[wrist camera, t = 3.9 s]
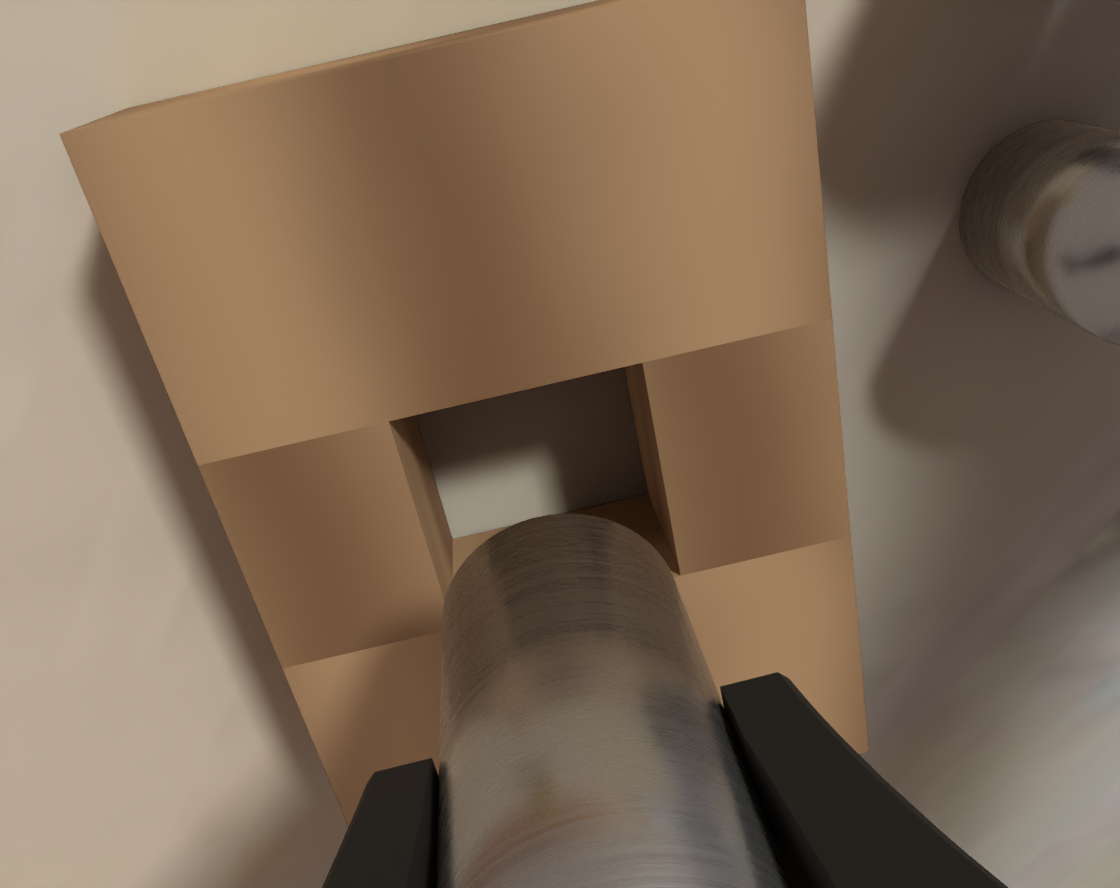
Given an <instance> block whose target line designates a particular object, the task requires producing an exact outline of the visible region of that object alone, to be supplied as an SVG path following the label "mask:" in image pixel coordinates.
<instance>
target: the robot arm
mask: <svg viewBox="0 0 1120 888" xmlns="http://www.w3.org/2000/svg"><path fill="white" fill-rule="evenodd" d="M720 690H721V695H722V700H723V705H724V709H725V712H726V715H727V717H728V720H729V722H730V725H731V727H732V730H733V733H734V735H735V738H736V740H737V743H738V745H739V748H740V751H741V753H742V756H743V758H744V761H745V763H746V766H747V769H748V771H749V774H750V776H751V779H752V781H753V784H754V786H755V788H756V791H757V794H758V796H759V799H760V801H761V804H762V806H763V809H764V812H765V814H766V817H767V819H768V822H769V824H770V827H771V830H772V832H773V835H774V837H775V840H776V843H777V845H778V848H779V850H780V853H781V855H782V858H783V861H784V863H785V866H786V868H787V871H788V873H789V876H790V879H791V881H792V884H793V886H794V888H1008V887H1007V886H1006V885H1004V884H1003V883H1002V882H1001V881H1000V880H998V879H997V878H996V877H995V876H994V875H992V874H991V873H990V872H989V871H987V870H986V869H985V868H984V867H983V866H981V865H980V864H979V863H978V862H977V861H975V860H974V859H973V858H972V857H970V856H969V855H968V854H967V853H966V852H964V851H963V850H962V849H961V848H960V847H959V846H958V845H956V844H955V843H954V842H953V841H952V840H951V839H949V838H948V837H947V836H946V835H945V834H944V833H943V832H941V831H940V830H939V829H938V828H937V827H936V826H935V825H933V824H932V823H931V822H930V821H929V820H928V819H927V818H926V817H925V816H924V815H923V814H921V813H920V812H919V811H918V810H917V809H916V808H915V807H914V806H913V805H912V804H911V803H909V802H908V801H907V800H906V799H905V798H904V797H903V796H902V795H901V794H900V793H899V792H897V791H896V790H895V789H894V788H893V787H892V786H891V785H890V784H889V783H888V782H887V781H885V780H884V779H883V778H882V777H881V776H880V775H879V774H878V773H877V772H876V771H875V770H874V769H873V768H872V767H871V766H870V765H869V764H868V763H867V762H866V761H865V760H864V759H863V758H862V757H861V756H860V755H859V754H858V753H857V752H856V751H855V750H854V749H853V748H852V747H851V746H850V745H849V744H848V743H847V742H846V741H845V740H844V739H843V738H842V737H841V736H840V735H839V734H838V733H837V732H836V731H835V730H834V728H833V727H832V726H831V725H830V724H829V723H828V722H827V721H826V720H825V719H824V718H823V717H822V716H821V715H820V713H819V712H818V711H817V710H816V709H815V708H814V707H813V706H812V705H811V703H810V702H809V701H808V700H807V699H806V698H805V697H804V695H803V694H802V693H801V692H800V691H799V690H798V688H797V687H796V686H795V685H794V684H793V682H792V681H791V680H790V679H789V678H787V677H786V676H784V675H782V674H780V673H779V672H776V673H772V674H768V675H764V676H760V677H756V678H752V679H748V680H744V681H740V682H736V683H732V684H728V685H724V686H720ZM438 790H439V776H438V773H437V770H436V768H435V765H434V762H433V760H432V758H429V759H425V760H421V761H417V762H413V763H409V764H405V765H401V766H397V767H393V768H389V769H385V770H381V771H377V772H374V773H373V775H372V776H371V778H370V779H369V781H368V782H367V784H366V786H365V789H364V791H363V794H362V796H361V799H360V801H359V803H358V806H357V808H356V811H355V813H354V815H353V818H352V820H351V823H350V825H349V827H348V830H347V832H346V834H345V837H344V839H343V842H342V844H341V846H340V848H339V851H338V853H337V855H336V858H335V860H334V862H333V864H332V867H331V869H330V871H329V873H328V876H327V878H326V880H325V882H324V884H323V887H322V888H436V884H437V837H438Z"/></svg>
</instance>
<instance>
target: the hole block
mask: <svg viewBox="0 0 1120 888" xmlns="http://www.w3.org/2000/svg"><path fill="white" fill-rule="evenodd" d="M60 137H61V139H62V141H63V144H64V146H65V149H66V151H67V153H68V156H69V158H70V161H71V163H72V165H73V168H74V170H75V173H76V175H77V177H78V180H79V182H80V184H81V187H82V189H83V192H84V194H85V196H86V199H87V201H88V204H89V206H90V208H91V211H92V213H93V216H94V218H95V220H96V223H97V225H98V228H99V230H100V232H101V235H102V237H103V240H104V242H105V244H106V247H107V249H108V252H109V254H110V256H111V259H112V261H113V264H114V266H115V268H116V271H117V273H118V276H119V278H120V280H121V283H122V285H123V288H124V290H125V292H126V295H127V297H128V300H129V302H130V304H131V307H132V309H133V312H134V314H135V316H136V319H137V321H138V324H139V326H140V328H141V331H142V333H143V336H144V338H145V340H146V343H147V345H148V348H149V350H150V352H151V355H152V357H153V360H154V362H155V364H156V367H157V369H158V372H159V374H160V376H161V379H162V381H163V384H164V386H165V388H166V391H167V393H168V396H169V398H170V400H171V403H172V405H173V408H174V410H175V412H176V415H177V417H178V420H179V422H180V424H181V427H182V429H183V432H184V434H185V436H186V439H187V441H188V444H189V446H190V448H191V451H192V453H193V456H194V458H195V460H196V463H197V465H198V468H199V470H200V472H201V475H202V477H203V480H204V482H205V484H206V487H207V489H208V491H209V494H210V496H211V499H212V501H213V503H214V506H215V508H216V511H217V513H218V515H219V518H220V520H221V523H222V525H223V527H224V530H225V532H226V535H227V537H228V539H229V542H230V544H231V547H232V549H233V551H234V554H235V556H236V559H237V561H238V563H239V566H240V568H241V571H242V573H243V575H244V578H245V580H246V583H247V585H248V587H249V590H250V592H251V595H252V597H253V599H254V602H255V604H256V607H257V609H258V611H259V614H260V616H261V619H262V621H263V623H264V626H265V628H266V631H267V633H268V635H269V638H270V640H271V643H272V645H273V647H274V650H275V652H276V655H277V657H278V659H279V662H280V664H281V667H282V669H283V671H284V674H285V676H286V679H287V681H288V683H289V686H290V688H291V691H292V693H293V695H294V698H295V700H296V703H297V705H298V707H299V710H300V712H301V715H302V717H303V719H304V722H305V724H306V727H307V729H308V731H309V734H310V736H311V739H312V741H313V743H314V746H315V748H316V751H317V753H318V755H319V758H320V760H321V763H322V765H323V767H324V770H325V772H326V775H327V777H328V779H329V782H330V784H331V787H332V789H333V791H334V794H335V796H336V799H337V801H338V803H339V806H340V808H341V810H342V813H343V815H344V818H345V820H346V822H347V825H348V827H349V825H350V823H351V820H352V818H353V815H354V813H355V811H356V808H357V806H358V803H359V801H360V799H361V796H362V794H363V791H364V789H365V786H366V784H367V782H368V781H369V779H370V778H371V776H372V775H373V773H374V772H377V771H381V770H385V769H389V768H393V767H397V766H401V765H405V764H409V763H413V762H417V761H421V760H425V759H429V758H432V760H433V762H434V765H435V768H436V770H437V773H438V776H439V743H440V696H441V649H442V612H443V606H444V601H445V597H446V594H447V591H448V588H449V586H450V583H451V581H452V580H453V578H454V576H455V574H456V572H457V571H458V569H459V568H460V566H461V565H462V564H463V562H464V561H465V560H466V559H467V558H468V557H469V555H470V554H471V553H472V552H473V551H474V550H475V549H476V548H477V547H479V546H480V545H481V544H482V543H484V542H485V541H486V540H487V539H489V538H490V537H492V536H494V535H495V534H497V533H498V532H500V531H502V530H504V529H506V528H508V527H510V526H508V527H504V528H500V529H495V530H491V531H487V532H482V533H478V534H474V535H469V536H465V537H461V538H457V539H452V536H451V533H450V529H449V526H448V523H447V519H446V516H445V513H444V509H443V506H442V502H441V499H440V496H439V492H438V489H437V486H436V482H435V479H434V476H433V472H432V469H431V465H430V462H429V459H428V455H427V452H426V449H425V445H424V442H423V439H422V435H421V432H420V428H419V425H418V422H417V418H416V415H418V414H423V413H427V412H431V411H436V410H440V409H444V408H449V407H453V406H457V405H462V404H466V403H470V402H475V401H479V400H483V399H488V398H492V397H496V396H501V395H505V394H509V393H514V392H518V391H522V390H527V389H531V388H535V387H539V386H544V385H548V384H552V383H557V382H561V381H565V380H570V379H574V378H578V377H583V376H587V375H591V374H596V373H600V372H604V371H609V370H613V369H617V368H622V367H624V368H625V373H626V379H627V384H628V389H629V395H630V400H631V405H632V411H633V416H634V421H635V427H636V432H637V437H638V442H639V448H640V453H641V458H642V464H643V469H644V474H645V480H646V485H647V490H648V494H646V495H642V496H637V497H633V498H629V499H624V500H620V501H616V502H612V503H607V504H603V505H599V506H594V507H590V508H586V509H581V510H577V511H573V512H568V513H564V514H583V515H590V516H596V517H600V518H604V519H607V520H611V521H613V522H616V523H618V524H621V525H623V526H625V527H627V528H629V529H630V530H632V531H634V532H636V533H637V534H639V535H640V536H641V537H643V538H644V539H645V540H647V541H648V542H649V543H650V544H651V545H652V546H653V547H654V548H655V549H656V550H657V551H658V552H659V553H660V555H661V556H662V558H663V559H664V560H665V562H666V563H667V565H668V567H669V569H670V571H671V573H672V575H673V577H674V580H675V582H676V585H677V588H678V590H679V593H680V595H681V598H682V600H683V603H684V606H685V608H686V611H687V613H688V616H689V618H690V621H691V624H692V626H693V629H694V631H695V634H696V636H697V639H698V642H699V644H700V647H701V649H702V652H703V654H704V657H705V660H706V662H707V665H708V667H709V670H710V673H711V675H712V678H713V680H714V683H715V685H716V688H717V691H718V693H719V696H720V698H721V701H722V703H723V700H722V695H721V690H720V686H724V685H728V684H732V683H736V682H740V681H744V680H748V679H752V678H756V677H760V676H764V675H768V674H772V673H776V672H779V673H780V674H782V675H784V676H786V677H787V678H789V679H790V680H791V681H792V682H793V684H794V685H795V686H796V687H797V688H798V690H799V691H800V692H801V693H802V694H803V695H804V697H805V698H806V699H807V700H808V701H809V702H810V703H811V705H812V706H813V707H814V708H815V709H816V710H817V711H818V712H819V713H820V715H821V716H822V717H823V718H824V719H825V720H826V721H827V722H828V723H829V724H830V725H831V726H832V727H833V728H834V730H835V731H836V732H837V733H838V734H839V735H840V736H841V737H842V738H843V739H844V740H845V741H846V742H847V743H848V744H849V745H850V746H851V747H852V748H853V749H854V750H855V751H856V752H857V753H858V754H862V753H866V752H869V747H868V735H867V723H866V711H865V700H864V688H863V676H862V664H861V652H860V641H859V629H858V617H857V605H856V593H855V582H854V570H853V558H852V546H851V534H850V523H849V511H848V499H847V487H846V475H845V464H844V452H843V440H842V428H841V416H840V405H839V393H838V381H837V369H836V357H835V346H834V334H833V322H832V310H831V298H830V287H829V275H828V263H827V251H826V240H825V228H824V216H823V204H822V192H821V181H820V169H819V157H818V145H817V133H816V122H815V110H814V98H813V86H812V74H811V63H810V51H809V39H808V27H807V15H806V4H805V0H599V1H594V2H590V3H586V4H581V5H577V6H572V7H568V8H564V9H559V10H555V11H551V12H546V13H542V14H537V15H533V16H529V17H524V18H520V19H516V20H511V21H507V22H502V23H498V24H494V25H489V26H485V27H481V28H476V29H472V30H467V31H463V32H459V33H454V34H450V35H446V36H441V37H437V38H432V39H428V40H424V41H419V42H415V43H411V44H406V45H402V46H398V47H393V48H389V49H384V50H380V51H376V52H371V53H367V54H363V55H358V56H354V57H349V58H345V59H341V60H336V61H332V62H328V63H323V64H319V65H314V66H310V67H306V68H301V69H297V70H293V71H288V72H284V73H279V74H275V75H271V76H266V77H262V78H258V79H253V80H249V81H244V82H240V83H236V84H231V85H227V86H223V87H218V88H214V89H210V90H205V91H201V92H196V93H192V94H188V95H183V96H179V97H175V98H170V99H166V100H161V101H157V102H153V103H148V104H144V105H140V106H135V107H131V108H127V109H124V110H121V111H119V112H116V113H114V114H111V115H108V116H106V117H103V118H100V119H98V120H95V121H92V122H90V123H87V124H84V125H82V126H79V127H77V128H74V129H71V130H69V131H66V132H63V133H61V134H60ZM723 706H724V705H723Z"/></svg>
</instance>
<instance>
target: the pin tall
mask: <svg viewBox="0 0 1120 888" xmlns="http://www.w3.org/2000/svg"><path fill="white" fill-rule="evenodd" d="M436 888H794V886H793V884H792V881H791V879H790V876H789V873H788V871H787V868H786V866H785V863H784V861H783V858H782V855H781V853H780V850H779V848H778V845H777V843H776V840H775V837H774V835H773V832H772V830H771V827H770V824H769V822H768V819H767V817H766V814H765V812H764V809H763V806H762V804H761V801H760V799H759V796H758V794H757V791H756V788H755V786H754V784H753V781H752V779H751V776H750V774H749V771H748V769H747V766H746V763H745V761H744V758H743V756H742V753H741V751H740V748H739V745H738V743H737V740H736V738H735V735H734V733H733V730H732V727H731V725H730V722H729V720H728V717H727V715H726V712H725V709H724V706H723V703H722V701H721V698H720V696H719V693H718V691H717V688H716V685H715V683H714V680H713V678H712V675H711V673H710V670H709V667H708V665H707V662H706V660H705V657H704V654H703V652H702V649H701V647H700V644H699V642H698V639H697V636H696V634H695V631H694V629H693V626H692V624H691V621H690V618H689V616H688V613H687V611H686V608H685V606H684V603H683V600H682V598H681V595H680V593H679V590H678V588H677V585H676V582H675V580H674V577H673V575H672V573H671V571H670V569H669V567H668V565H667V563H666V562H665V560H664V559H663V558H662V556H661V555H660V553H659V552H658V551H657V550H656V549H655V548H654V547H653V546H652V545H651V544H650V543H649V542H648V541H647V540H645V539H644V538H643V537H641V536H640V535H639V534H637V533H636V532H634V531H632V530H630V529H629V528H627V527H625V526H623V525H621V524H618V523H616V522H613V521H611V520H607V519H604V518H600V517H596V516H590V515H583V514H555V515H546V516H541V517H537V518H532V519H529V520H526V521H523V522H520V523H517V524H514V525H512V526H510V527H508V528H506V529H504V530H502V531H500V532H498V533H497V534H495V535H494V536H492V537H490V538H489V539H487V540H486V541H485V542H484V543H482V544H481V545H480V546H479V547H477V548H476V549H475V550H474V551H473V552H472V553H471V554H470V555H469V557H468V558H467V559H466V560H465V561H464V562H463V564H462V565H461V566H460V568H459V569H458V571H457V572H456V574H455V576H454V578H453V580H452V581H451V583H450V586H449V588H448V591H447V594H446V597H445V601H444V606H443V612H442V649H441V696H440V743H439V790H438V837H437V884H436Z"/></svg>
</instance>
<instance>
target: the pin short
mask: <svg viewBox="0 0 1120 888" xmlns="http://www.w3.org/2000/svg"><path fill="white" fill-rule="evenodd" d="M959 226H960V235H961V240H962V244H963V247H964V249H965V252H966V254H967V256H968V257H969V259H970V261H971V262H972V263H973V265H974V266H975V267H976V268H977V269H978V270H979V271H980V272H981V273H982V274H984V275H985V276H987V277H988V278H990V279H992V280H994V281H995V282H997V283H999V284H1001V285H1003V286H1005V287H1007V288H1008V289H1010V290H1012V291H1014V292H1016V293H1018V294H1020V295H1022V296H1023V297H1025V298H1027V299H1029V300H1031V301H1033V302H1035V303H1036V304H1038V305H1040V306H1042V307H1044V308H1046V309H1048V310H1049V311H1051V312H1053V313H1055V314H1057V315H1059V316H1061V317H1063V318H1064V319H1066V320H1068V321H1070V322H1072V323H1074V324H1076V325H1077V326H1079V327H1081V328H1083V329H1085V330H1087V331H1089V332H1090V333H1092V334H1094V335H1096V336H1098V337H1100V338H1102V339H1103V340H1106V341H1108V342H1110V343H1113V344H1116V345H1120V131H1115V130H1110V129H1106V128H1101V127H1096V126H1092V125H1087V124H1082V123H1078V122H1073V121H1066V120H1049V121H1043V122H1038V123H1035V124H1032V125H1029V126H1026V127H1024V128H1022V129H1020V130H1018V131H1016V132H1014V133H1013V134H1011V135H1009V136H1008V137H1006V138H1005V139H1004V140H1002V141H1001V142H1000V143H998V144H997V145H996V146H995V147H994V148H993V149H992V150H991V151H990V152H989V153H988V154H987V155H986V157H985V158H984V159H983V160H982V161H981V163H980V164H979V166H978V167H977V168H976V170H975V172H974V173H973V175H972V177H971V179H970V181H969V183H968V185H967V188H966V190H965V193H964V196H963V200H962V204H961V210H960V221H959Z"/></svg>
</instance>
